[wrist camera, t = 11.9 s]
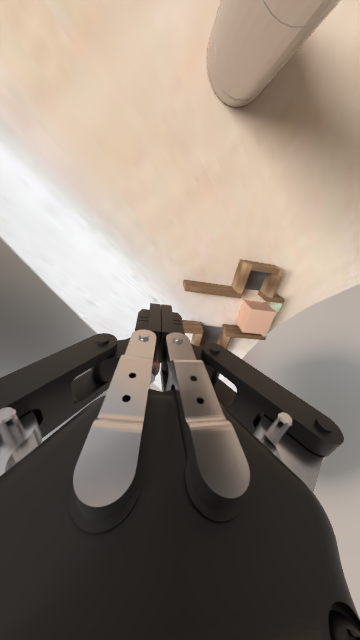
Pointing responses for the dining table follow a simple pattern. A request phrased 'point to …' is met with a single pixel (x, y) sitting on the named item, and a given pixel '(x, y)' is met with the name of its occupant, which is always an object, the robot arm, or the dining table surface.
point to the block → (255, 317)
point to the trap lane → (245, 277)
